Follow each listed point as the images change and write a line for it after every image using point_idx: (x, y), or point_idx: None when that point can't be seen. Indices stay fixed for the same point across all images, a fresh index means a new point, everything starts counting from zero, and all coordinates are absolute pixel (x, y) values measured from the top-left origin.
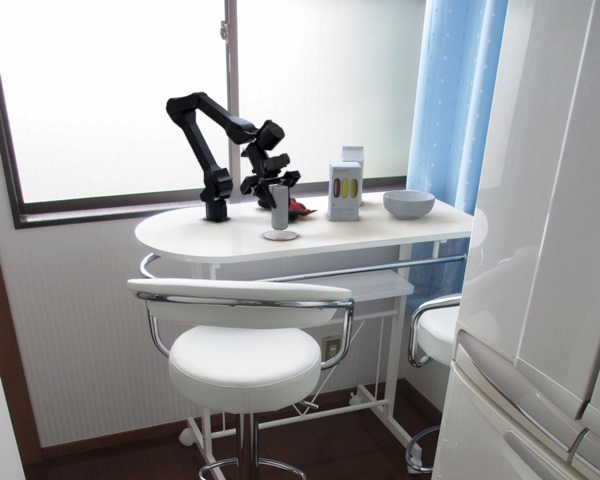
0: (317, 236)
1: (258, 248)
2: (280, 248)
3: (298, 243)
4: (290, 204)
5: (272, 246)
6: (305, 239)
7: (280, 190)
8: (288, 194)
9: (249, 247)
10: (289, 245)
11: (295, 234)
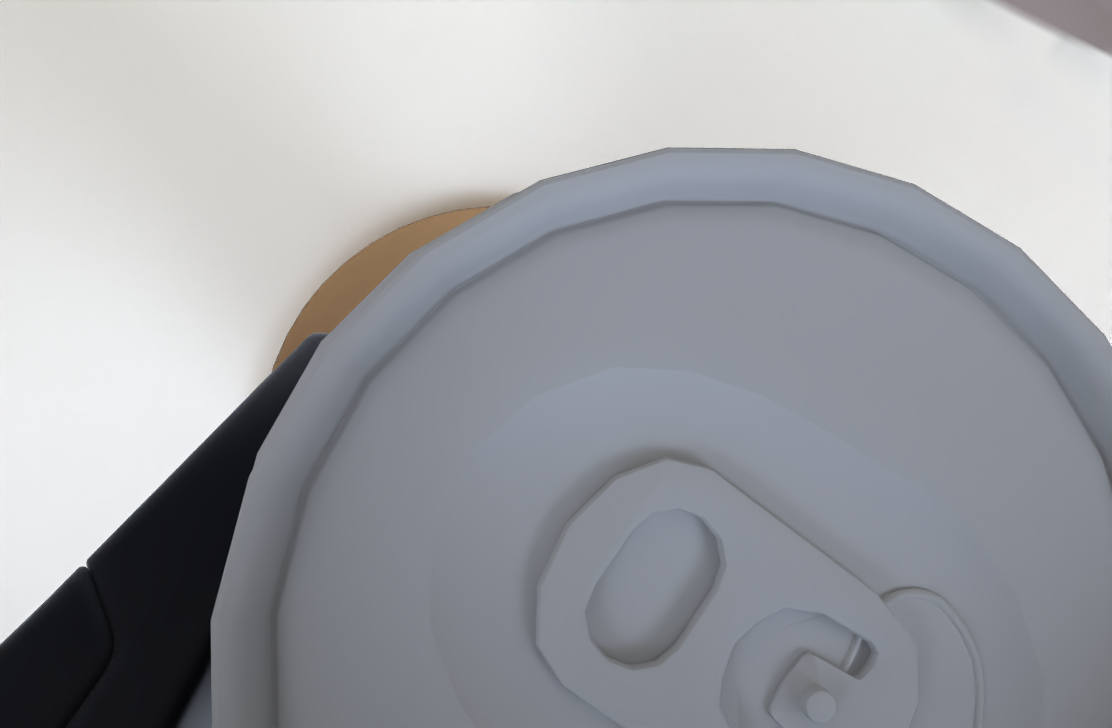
0: (93, 99)
1: (1026, 205)
2: (837, 32)
3: (534, 34)
4: (324, 335)
5: (859, 157)
6: (335, 105)
7: (941, 277)
8: (189, 534)
9: (1080, 305)
10: (677, 49)
11: (323, 323)
